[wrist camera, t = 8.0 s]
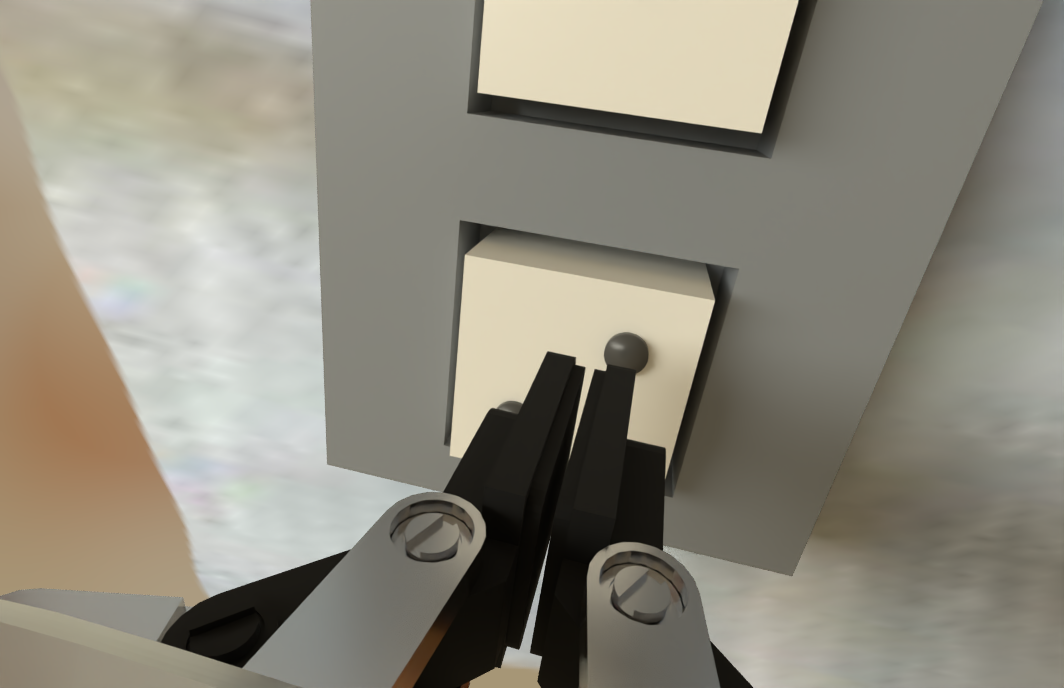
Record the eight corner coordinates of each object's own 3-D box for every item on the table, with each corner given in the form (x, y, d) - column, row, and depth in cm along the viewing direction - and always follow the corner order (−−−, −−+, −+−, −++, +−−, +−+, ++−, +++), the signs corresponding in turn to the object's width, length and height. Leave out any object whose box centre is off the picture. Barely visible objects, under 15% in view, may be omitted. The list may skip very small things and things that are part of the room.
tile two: (705, 262, 15) (715, 303, 12) (658, 439, 17) (658, 509, 14) (498, 226, 16) (462, 256, 13) (480, 401, 18) (447, 460, 15)
